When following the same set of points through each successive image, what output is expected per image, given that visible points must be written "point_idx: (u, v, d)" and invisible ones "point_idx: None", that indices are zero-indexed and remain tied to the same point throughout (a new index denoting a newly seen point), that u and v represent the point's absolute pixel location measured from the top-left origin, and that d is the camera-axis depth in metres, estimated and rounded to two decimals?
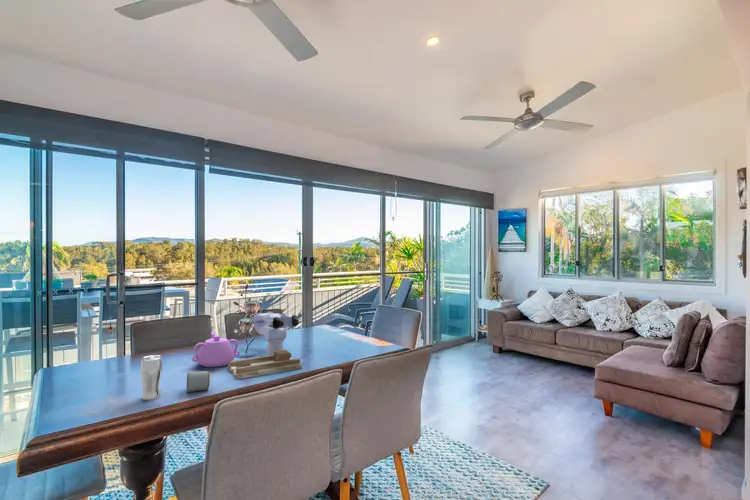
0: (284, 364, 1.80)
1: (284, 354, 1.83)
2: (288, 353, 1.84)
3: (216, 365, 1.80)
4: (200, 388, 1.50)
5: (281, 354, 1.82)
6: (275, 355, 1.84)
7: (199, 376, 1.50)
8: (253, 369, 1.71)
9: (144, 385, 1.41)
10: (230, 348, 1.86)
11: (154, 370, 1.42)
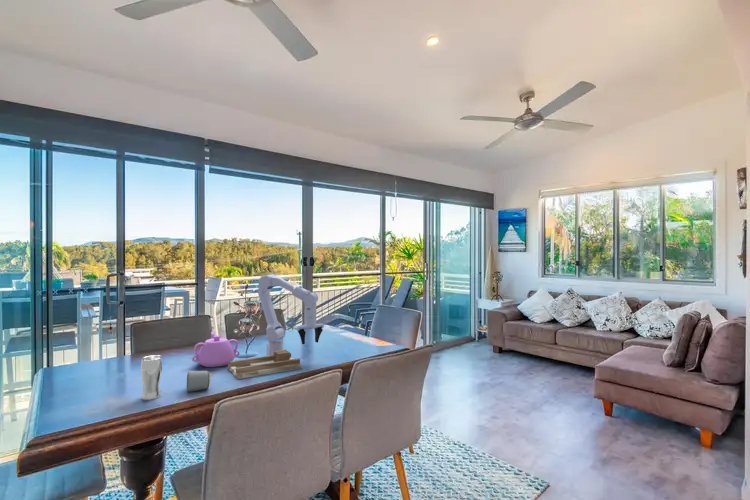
0: (284, 364, 1.80)
1: (284, 354, 1.83)
2: (288, 353, 1.84)
3: (216, 365, 1.80)
4: (200, 388, 1.50)
5: (281, 354, 1.82)
6: (275, 355, 1.84)
7: (199, 375, 1.51)
8: (253, 369, 1.71)
9: (144, 385, 1.41)
10: (230, 348, 1.86)
11: (154, 370, 1.42)
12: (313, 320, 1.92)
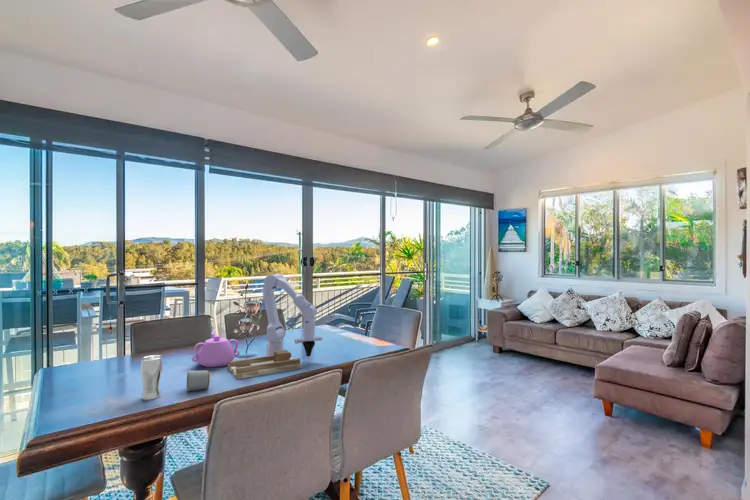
0: (284, 364, 1.80)
1: (284, 354, 1.83)
2: (288, 353, 1.84)
3: (216, 365, 1.80)
4: (200, 387, 1.51)
5: (281, 354, 1.82)
6: (275, 355, 1.84)
7: (199, 375, 1.51)
8: (253, 369, 1.71)
9: (144, 385, 1.41)
10: (230, 348, 1.86)
11: (154, 370, 1.42)
12: (311, 333, 1.92)
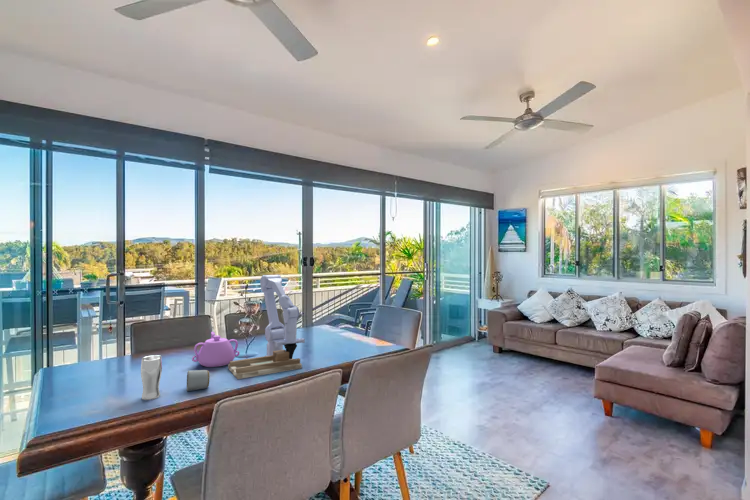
0: (284, 364, 1.80)
1: (283, 354, 1.83)
2: (287, 353, 1.84)
3: (216, 365, 1.80)
4: (200, 387, 1.51)
5: (280, 354, 1.82)
6: (274, 355, 1.84)
7: (199, 374, 1.51)
8: (253, 369, 1.71)
9: (144, 385, 1.41)
10: (230, 348, 1.86)
11: (154, 370, 1.42)
12: (293, 335, 1.86)
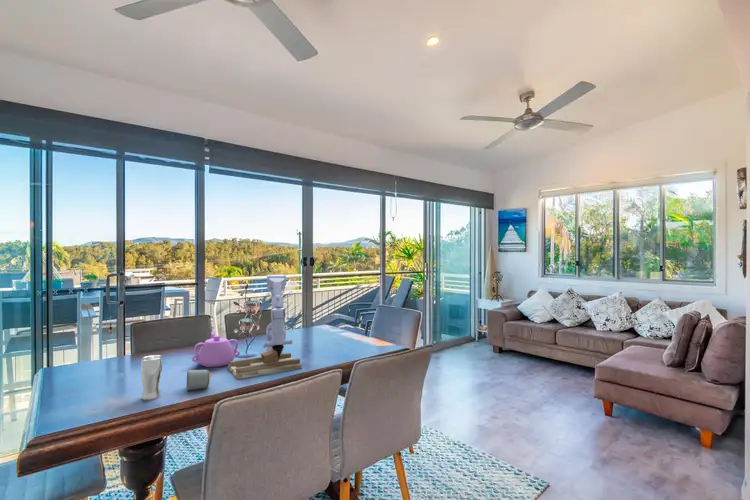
0: (284, 364, 1.80)
1: (271, 354, 1.79)
2: (275, 352, 1.80)
3: (216, 365, 1.80)
4: (200, 386, 1.51)
5: (268, 355, 1.78)
6: (263, 357, 1.80)
7: (199, 374, 1.52)
8: (253, 369, 1.71)
9: (144, 385, 1.41)
10: (230, 348, 1.86)
11: (154, 370, 1.42)
12: (280, 336, 1.82)
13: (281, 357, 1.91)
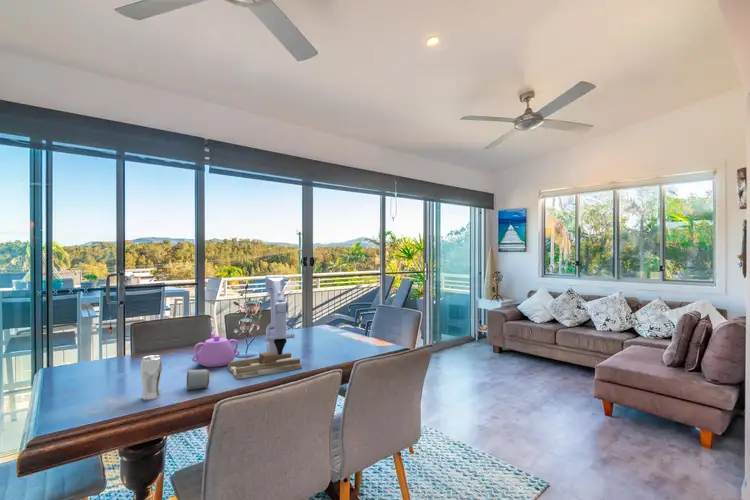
0: (284, 364, 1.80)
1: (271, 356, 1.79)
2: (275, 355, 1.80)
3: (216, 365, 1.80)
4: (200, 386, 1.52)
5: (268, 356, 1.78)
6: (261, 357, 1.79)
7: (199, 374, 1.52)
8: (253, 369, 1.71)
9: (144, 385, 1.41)
10: (230, 348, 1.86)
11: (154, 370, 1.42)
12: (283, 330, 1.83)
13: (281, 357, 1.91)
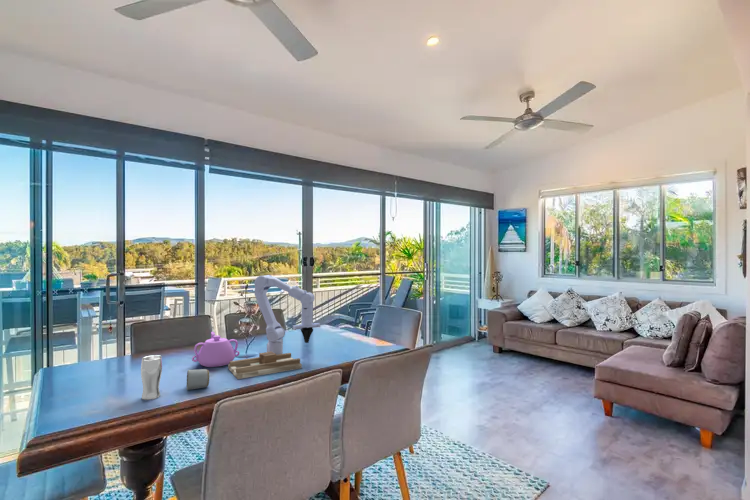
0: (284, 364, 1.80)
1: (271, 356, 1.79)
2: (275, 355, 1.80)
3: (216, 365, 1.80)
4: (200, 386, 1.52)
5: (268, 356, 1.78)
6: (261, 357, 1.79)
7: (199, 374, 1.52)
8: (253, 369, 1.71)
9: (144, 385, 1.41)
10: (230, 348, 1.86)
11: (154, 370, 1.42)
12: (310, 320, 1.93)
13: (281, 357, 1.91)
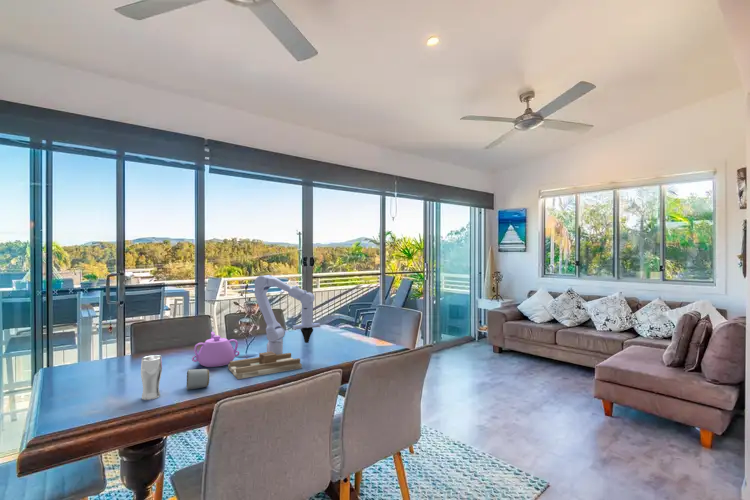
0: (284, 364, 1.80)
1: (271, 356, 1.79)
2: (275, 355, 1.80)
3: (216, 365, 1.80)
4: (200, 386, 1.52)
5: (268, 356, 1.78)
6: (261, 357, 1.79)
7: (199, 373, 1.53)
8: (253, 369, 1.71)
9: (144, 385, 1.41)
10: (230, 348, 1.86)
11: (154, 370, 1.42)
12: (310, 320, 1.93)
13: (281, 357, 1.91)
